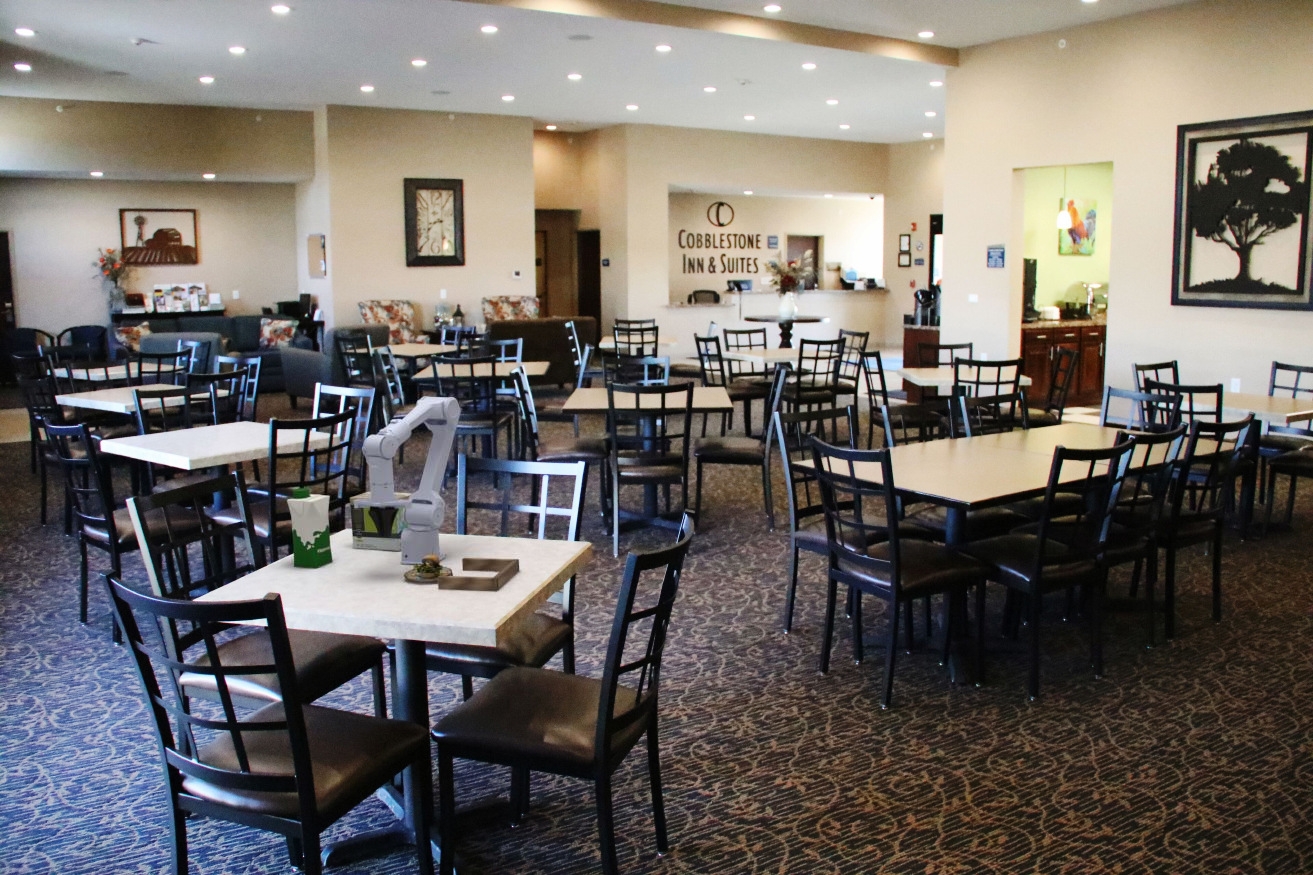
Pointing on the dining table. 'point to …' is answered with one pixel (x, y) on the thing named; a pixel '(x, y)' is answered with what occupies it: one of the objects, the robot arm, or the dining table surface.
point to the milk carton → (310, 528)
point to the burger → (428, 570)
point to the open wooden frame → (504, 567)
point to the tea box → (367, 531)
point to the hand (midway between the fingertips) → (385, 536)
